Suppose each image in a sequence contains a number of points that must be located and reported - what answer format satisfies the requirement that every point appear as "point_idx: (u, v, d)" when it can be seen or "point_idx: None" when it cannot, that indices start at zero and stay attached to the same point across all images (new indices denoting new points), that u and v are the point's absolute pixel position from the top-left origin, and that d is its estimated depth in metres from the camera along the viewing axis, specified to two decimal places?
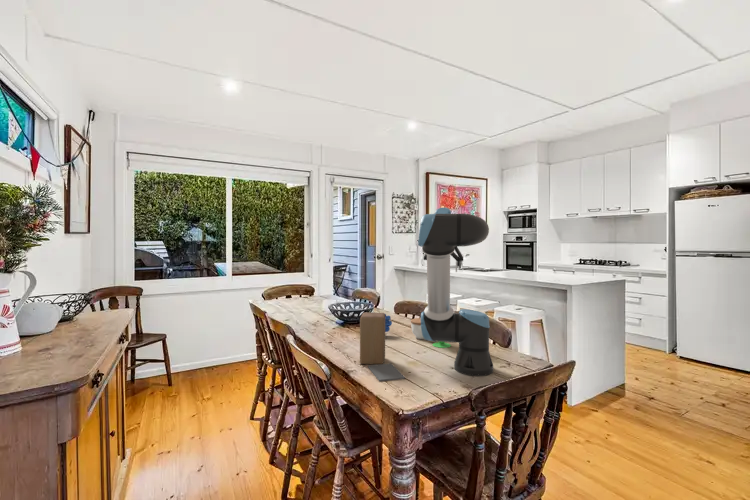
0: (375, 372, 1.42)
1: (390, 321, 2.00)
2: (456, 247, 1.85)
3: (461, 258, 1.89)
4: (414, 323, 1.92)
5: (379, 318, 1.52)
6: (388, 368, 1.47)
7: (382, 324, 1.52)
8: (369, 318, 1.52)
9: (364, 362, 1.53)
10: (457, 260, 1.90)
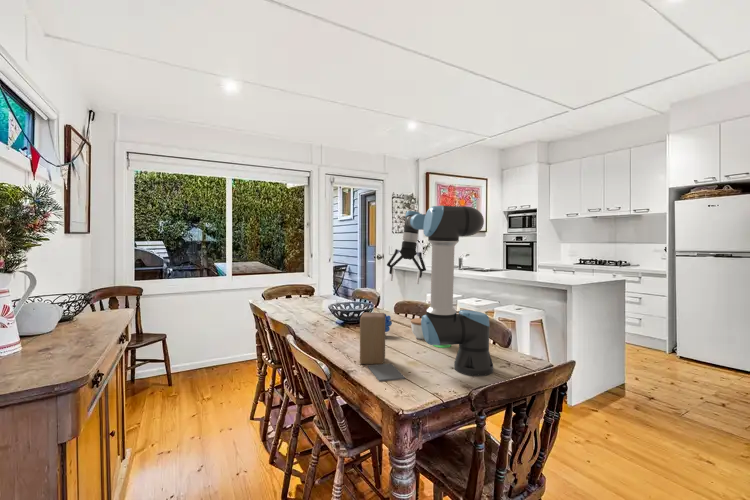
0: (375, 372, 1.42)
1: (390, 321, 2.00)
2: (421, 253, 1.90)
3: (424, 267, 1.90)
4: (414, 323, 1.92)
5: (379, 318, 1.52)
6: (388, 368, 1.47)
7: (382, 324, 1.52)
8: (369, 318, 1.52)
9: (364, 362, 1.53)
10: (420, 269, 1.90)
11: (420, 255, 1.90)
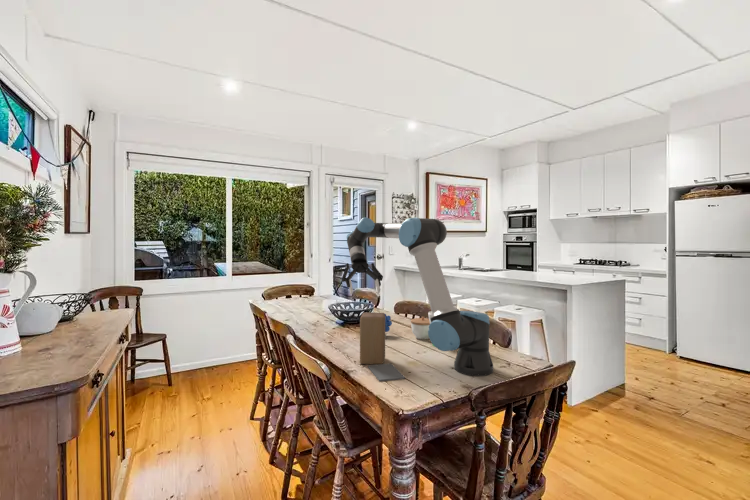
0: (375, 372, 1.42)
1: (390, 321, 2.00)
2: (373, 264, 1.81)
3: (380, 274, 1.77)
4: (414, 323, 1.92)
5: (379, 318, 1.52)
6: (388, 368, 1.47)
7: (382, 324, 1.52)
8: (369, 318, 1.52)
9: (364, 362, 1.53)
10: (377, 277, 1.75)
11: (373, 265, 1.80)
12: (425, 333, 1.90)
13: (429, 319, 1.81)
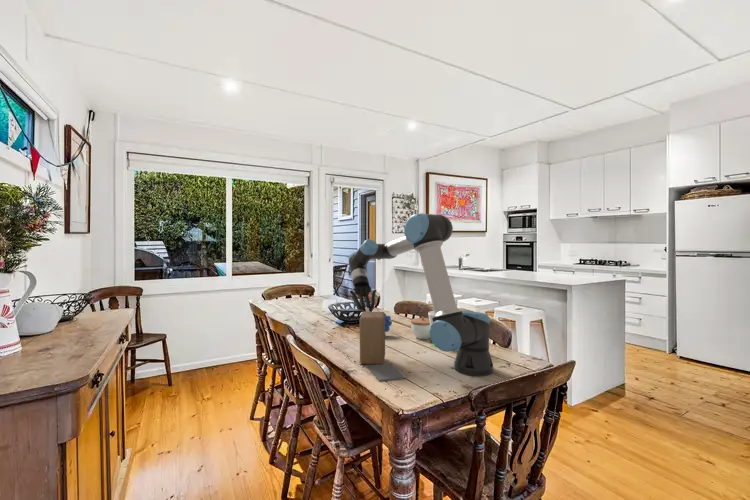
0: (375, 372, 1.42)
1: (390, 321, 2.00)
2: (375, 291, 1.73)
3: (373, 303, 1.68)
4: (414, 323, 1.92)
5: (379, 319, 1.50)
6: (388, 368, 1.47)
7: (382, 325, 1.50)
8: (369, 319, 1.50)
9: (364, 362, 1.53)
10: (368, 305, 1.67)
11: (374, 292, 1.73)
12: (425, 333, 1.90)
13: (429, 319, 1.81)
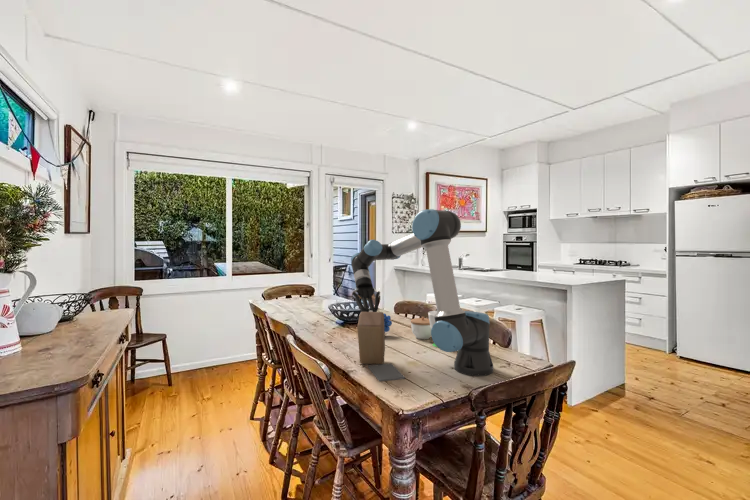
0: (375, 372, 1.42)
1: (390, 321, 2.00)
2: (379, 292, 1.68)
3: (377, 305, 1.63)
4: (414, 323, 1.92)
5: (377, 327, 1.44)
6: (388, 368, 1.47)
7: (381, 332, 1.45)
8: (367, 327, 1.44)
9: (364, 362, 1.52)
10: (372, 308, 1.61)
11: (377, 294, 1.67)
12: (425, 333, 1.90)
13: (429, 319, 1.81)
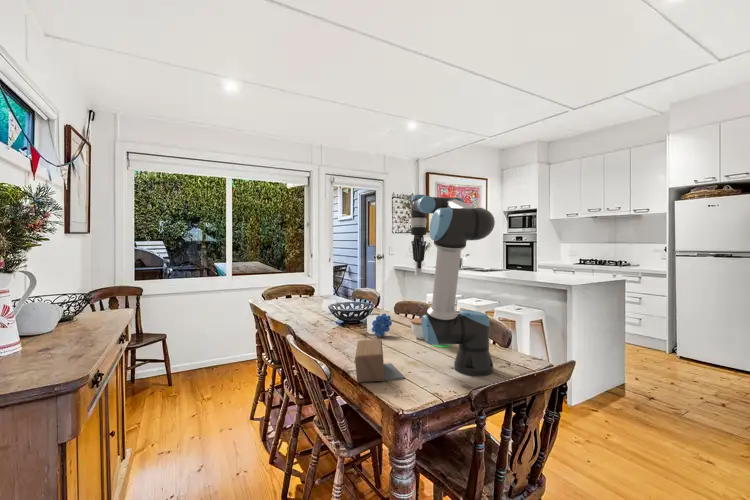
0: None
1: (390, 321, 2.00)
2: (421, 243, 1.75)
3: (419, 257, 1.77)
4: (414, 323, 1.92)
5: (379, 380, 1.34)
6: (388, 368, 1.47)
7: None
8: (368, 381, 1.34)
9: None
10: (417, 259, 1.80)
11: (420, 244, 1.76)
12: None
13: None
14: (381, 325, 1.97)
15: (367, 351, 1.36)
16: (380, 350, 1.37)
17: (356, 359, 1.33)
